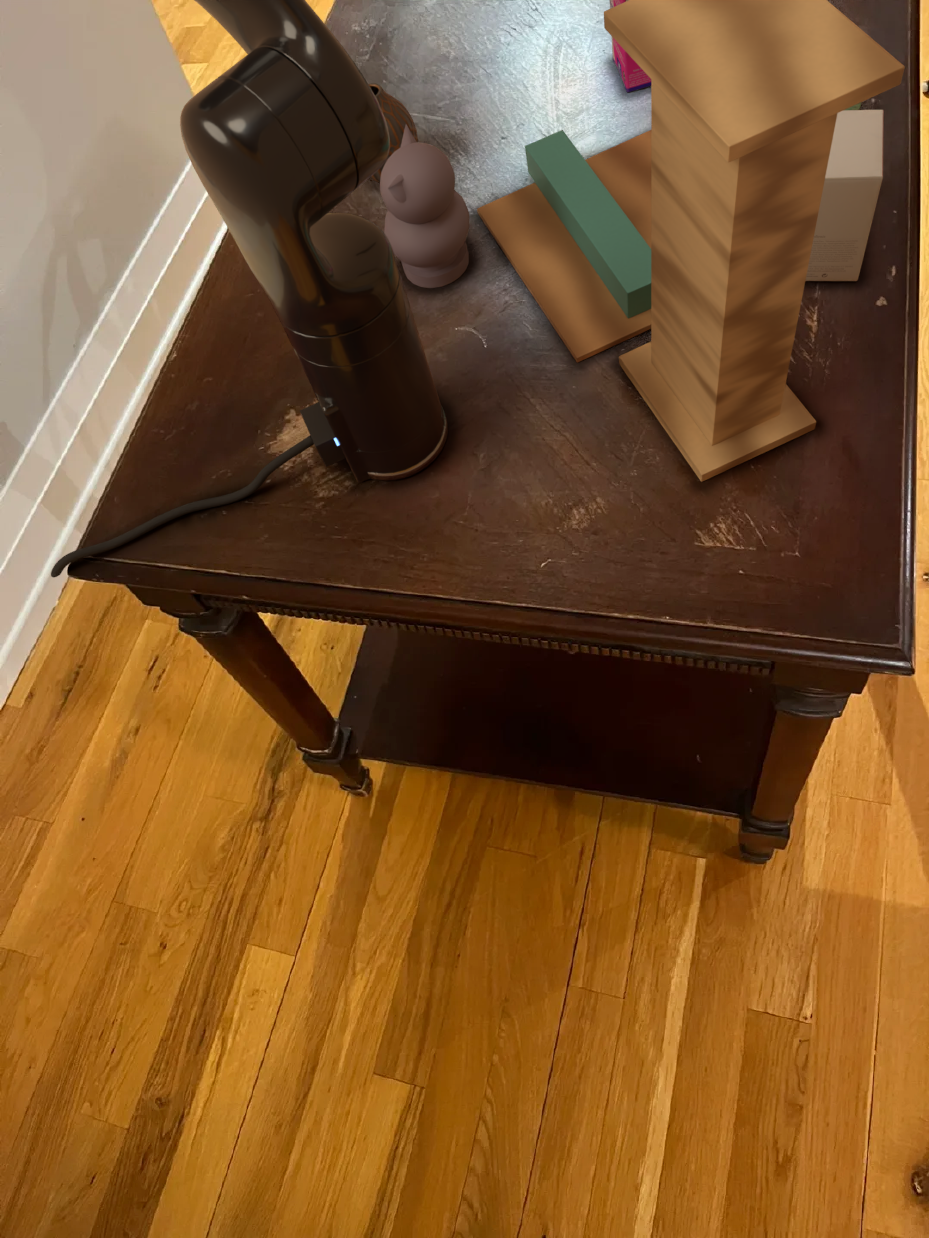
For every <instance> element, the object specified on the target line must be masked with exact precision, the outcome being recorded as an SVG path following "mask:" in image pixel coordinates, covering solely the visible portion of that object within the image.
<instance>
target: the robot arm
mask: <svg viewBox="0 0 929 1238" xmlns="http://www.w3.org/2000/svg"><path fill="white" fill-rule="evenodd" d="M193 1H194V2H196V4H198V5H199V6H200V7H201V8H202V9H204V11H206V12H207V13H208V14H209V15H210V16H211V18H213V19H214V20H215V21H216V22H217V23H218V24H219V25H220V26H221V27H222V28H223V29H224V30H225V31H226V32H227V34H229V35H230V36H231V37H232V38H233V39H234V41H236V43H237V44H238V45H239V46H240V47H241V48H242V50H243V51H244V52H245V53H246V55H245V56H244V57H243V58H241V59H239V60H238V61H237V62H236V63H235V64H234V65H232V66H231V67H229V68H228V69H227V70H225V71H224V72H223V73H222V74H220V75H219V76H218V77H216V78H215V79H214V80H213V81H211V82H210V83H208V84H207V85H206V86H205V87H203V88H202V89H201V90H199V91H198V92H197V93H196V94H195V95H194V96H192V97H191V98H190V99H189V100H188V101H187V102H186V103H185V104H184V106H183V108H182V110H181V111H180V116H179V120H180V121H179V128H180V135H181V139H182V142H183V145H184V149H185V151H186V154H187V157H188V159H189V161H190V163H191V165H192V167H193V169H194V171H195V173H196V175H197V177H198V179H199V180H200V182H201V184H202V186H203V188H204V189H205V191H206V193H207V194H208V196H209V198H210V200H211V202H212V203H213V205H214V207H215V208H216V211H218V213H219V215H220V216H221V217H220V218H221V219H222V220H223V222H224V223H225V225H226V227H227V230H228V231H229V233H230V235H231V236H232V238H233V240H234V242H235V244H236V246H237V248H238V249H239V251H240V254H241V255H242V257H243V260H244V261H245V263H246V265H247V266H248V268H249V270H250V271H251V274H252V275H253V277H254V279H255V281H256V282H257V283H258V284H259V286H260V288H261V289H262V291H263V293H264V295H265V296H266V298H267V299H268V301H269V303H270V304H271V306H272V308H273V310H274V312H275V314H276V316H277V318H278V320H279V322H280V324H281V326H282V328H283V330H284V333H285V334H286V336H287V338H288V340H289V342H290V345H291V346H292V349H293V351H294V353H295V355H296V357H297V359H298V361H299V364H300V365H301V368H302V370H303V372H304V375H306V378H307V380H308V382H309V384H310V387H311V388H312V391H313V393H314V395H315V397H316V399H317V402H315V403H313V404H311V405H309V406H306V407H304V408H302V409H300V410H299V413H300V416H301V417H302V419H303V421H304V424H305V427H306V429H307V431H308V433H309V435H308V436H307V437H305V438H304V439H302V440H301V441H299V442H297V443H296V444H294V445H292V446H291V447H289V448H288V449H287V450H285V451H284V452H281V454H279V455H277V456H276V457H275V458H274V459H272V460H271V461H270V462H269V463H268V464H266V465H265V466H263V468H262V469H261V470H260V471H259V472H258V473H257V475H256V476H255V478H254V479H252V481H251V482H250V483H249V484H248V485H246V486H245V487H242V488H241V489H238V490H237V491H236V490H235V491H234V492H231V493H228V494H224V495H219V496H214V497H209V498H205V499H201V500H195V501H192V502H189V503H185V504H183V505H180V506H177V507H175V508H173V509H170V510H167V511H165V512H163V513H161V514H159V515H157V516H155V517H153V518H151V519H149V520H148V521H146V522H144V523H142V524H139V525H138V526H136V527H134V528H132V529H131V530H128V531H126V532H124V533H122V534H120V535H118V536H116V537H114V538H112V539H109V540H106V541H102V542H100V543H97V544H94V545H89V546H85V547H82V548H79V549H76V550H73V551H71V552H69V553H66V554H64V555H63V556H62V557H61V558H59V559H58V560H57V561H56V562H55V563H54V565H53V566H52V569H51V572H50V577H52V578H58V577H59V576H61V574H62V573H63V572H64V569H65V568H66V567H67V566H68V565H70V564H72V563H73V562H74V563H75V562H76V561H78V560H80V559H84V558H87V557H91V556H94V555H98V554H99V555H100V554H101V553H106V552H108V551H111V550H114V549H116V548H118V547H119V548H120V547H121V546H123V545H125V544H127V543H130V542H131V541H133V540H135V539H137V538H139V537H141V536H143V535H145V534H146V533H148V532H151V531H152V530H154V529H156V528H158V527H161V526H162V525H164V524H166V523H168V522H170V521H172V520H175V519H177V518H179V517H182V516H184V515H187V514H188V515H189V514H192V513H194V512H198V511H201V510H206V509H211V508H215V507H216V508H217V507H221V506H225V505H229V504H232V503H236V502H238V501H240V500H243V499H246V498H248V497H249V496H251V495H252V494H254V493H255V492H257V491H258V489H259V488H261V487H262V485H263V484H264V482H265V481H266V480H267V479H268V478H269V476H270V475H271V474H272V473H273V472H275V471H276V470H277V469H279V468H280V467H281V466H283V465H284V464H286V463H287V462H289V461H290V460H292V459H294V458H295V457H297V456H298V455H299V454H301V453H303V452H304V451H306V450H307V449H309V448H310V447H312V446H313V445H314V447H315V449H316V451H317V453H318V454H319V456H320V458H321V460H322V462H323V464H324V466H325V467H326V468H328V467H330V466H332V465H334V464H336V463H339V462H341V461H343V460H346V462H347V464H348V466H349V468H350V470H351V472H352V474H353V475H354V476H353V477H354V478H355V481H356V482H357V483H363V482H365V481H367V480H370V479H372V480H375V481H396V480H401V479H406V478H408V477H411V476H414V475H416V474H417V473H420V472H421V471H423V470H424V469H426V468H428V466H429V465H431V464H432V463H433V462H434V461H435V460H436V459H437V458H438V456H439V455H440V453H441V452H442V450H443V448H444V446H445V445H446V442H447V438H448V433H449V432H448V431H449V427H448V426H449V425H448V419H447V417H446V412H445V410H444V408H443V405H442V403H441V400H440V397H439V395H438V391H437V388H436V385H435V382H434V378H433V376H432V372H431V369H430V366H429V362H428V359H427V356H426V352H425V350H424V349H425V348H424V347H423V346H424V345H423V343H422V339H421V337H420V333H419V329H418V326H417V324H416V320H415V317H414V314H413V310H412V308H411V304H410V301H409V298H408V295H407V292H406V288H405V285H404V281H403V278H402V275H401V272H400V268H399V265H398V263H397V258H396V255H395V254H394V252H393V249H392V247H391V244H390V242H389V240H388V238H387V236H386V235H385V233H384V231H383V230H382V229H381V227H380V226H379V225H377V224H376V223H374V222H373V221H371V220H369V219H367V218H366V217H364V216H362V215H358V214H354V213H349V212H331V211H332V210H333V209H334V208H335V207H337V206H338V205H339V204H341V202H343V201H344V200H346V198H348V197H349V196H350V195H351V194H352V193H353V192H355V191H356V190H357V189H358V188H360V187H361V186H362V185H363V184H364V183H366V181H368V180H369V179H370V177H371V176H372V175H373V174H374V173H375V172H377V171H378V170H379V168H380V167H381V166H382V165H383V164H384V163H385V161H386V159H387V157H388V154H389V147H390V137H389V131H388V126H387V123H386V120H385V117H384V115H383V112H382V110H381V107H380V105H379V103H378V101H377V98H376V97H375V95H374V93H373V91H372V89H371V88H370V86H369V84H370V83H369V82H368V81H367V79H366V77H364V74H363V72H361V69H360V68H359V67H358V65H357V63H355V61H354V60H353V57H351V56H350V54H349V53H348V51H347V50H346V48H344V46H343V45H342V44H341V43H340V41H339V40H338V39H337V37H336V36H335V35H334V34H333V33H332V31H331V30H330V29H329V28H328V26H327V25H326V24H325V22H324V21H323V19H322V18H321V17H320V16H319V15H318V14H317V13H316V11H315V10H314V9H313V8H312V7H311V6H310V4H309V2H307V1H306V0H193Z"/></svg>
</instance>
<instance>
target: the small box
mask: <svg viewBox="0 0 929 1238" xmlns="http://www.w3.org/2000/svg"><path fill="white" fill-rule="evenodd" d="M884 112H885V110H884V109H860V110H844V111H841V112H839V113H837V119H836V124H835V129H834V134H833V140H832V145H831V150H830V155H829V160H828V166H827V171H826V176H825V181H824V186H823V192H822V197H821V202H820V207H819V212H818V218H817V223H816V228H815V233H814V239H813V244H812V249H811V254H810V259H809V265H808V270H807V275H806V280H805V282H857V281H859V276H860V272H861V269H862V265H863V261H864V256H865V252H866V249H867V245H868V240H869V236H870V232H871V228H872V223H873V220H874V215H875V213H876V207H877V203H878V199H879V195H880V191H881V190H880V189H881V188H882V187H881V186H882V183H883V179H884V127H885V126H884V124H885V123H884V122H885V121H884V114H885V113H884Z"/></svg>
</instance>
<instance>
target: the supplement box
mask: <svg viewBox="0 0 929 1238" xmlns="http://www.w3.org/2000/svg"><path fill="white" fill-rule="evenodd" d="M608 1H609V9H611V8H613V7H615V6H617V5H620V4H622V3H624V2H626V1H629V0H608ZM610 36H611V35H610ZM611 52H612V53H611V54H612V62H613V63H614V65H615V68H616V69H617V71H618V74H619V76H620V78H621V81H622V83H623V86H624V89H625V92H626V93H631V92H632V93H633V92H635V91H639V90H641V89H642V90H643V89H645V88H648V87H651V78H650V77H649V76H648V75H647V74H646V73H645V72H644V71H643V70H642V69H641V67H640V66H639V65H638V64H637V63H636V62H635V61H634V60H633V59H632V58H631V57H630V55H629V54H628V53H627V52H626V51H625V50H624V49H623V48H622V47H621V46H620V45H619V44H618V42H617V41H616V40H615V39H614V38H613V37H612V36H611Z"/></svg>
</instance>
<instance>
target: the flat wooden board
mask: <svg viewBox="0 0 929 1238" xmlns="http://www.w3.org/2000/svg"><path fill="white" fill-rule="evenodd" d="M584 159H585V161H586V162H587V163H588V165H589V166H590V167H591V169H592V170H593V171H594V173H595V174H596V175H597V177H598V178H599V179H600V181H601V182H602V183H603V185H604V186H605V187H606V189H607V190H608V192H609V193H610V194H611V196H612V197H613V198H614V200H615V201H616V202H617V204H618V205H619V206H620V208H621V209H622V210H623V212H624V213H625V214H626V216H627V217H628V218H629V220H630V221H631V223H632V224H633V225H634V227H635V228H636V229H637V231H638V232H639V233H640V235H641V236H642V237H643V239H644V240H645V241H646V243H647V244H648V245H649V247H650V248H651V129H650V130H647V131H644V132H643V133H641V134H638V135H636V136H634V137H632V138H630V139H627V140H625V141H623V142H621V143H619V144H617V145H614V146H612V147H609V148H607V149H605V150H603V151H601V152H598V153H597V154H594V155H592V156H590V157H588V158H584ZM476 211H477V214H478V216H479V217H480V219H481V220H482V222H483V224H484V225H485V226H486V228H487V230H488V231H489V233H490V234H491V236H493V238H494V241H496V243H497V244H498V246H499V248H500V249H501V250H502V252H503V254H504V255H505V256H506V258H507V260H508V261H509V262H510V264H511V266H512V267H513V269H514V270H515V272H516V273H517V275H518V276H519V278H520V279H521V281H522V282H523V283H524V285H525V287H526V288H527V289H528V291H529V292H530V294H531V296H532V297H533V298H534V300H535V301H536V303H537V304H538V306H539V308H540V309H541V311H542V312H543V314H544V316H545V317H546V318H547V320H548V321H549V323H550V324H551V326H552V327H553V329H554V330H555V332H556V333H557V335H558V336H559V338H560V339H561V341H562V342H563V344H564V345H565V347H566V348H567V350H568V351H569V353H570V354H571V356H572V357H573V359H574V360H575V362H576V363H580V362H582V361H583V360H586V359H588V358H590V357H593V356H595V355H597V354H599V353H602V352H604V351H605V350H607V349H610V348H612V347H615V346H617V345H619V344H621V343H624V342H625V341H627V340H630V339H632V338H634V337H636V336H639V335H641V334H643V333H645V332H647V331H649V330H651V309H649V310H647V311H645V312H642V313H640V314H638V315H635V316H633V317H631V318H627V316H626V315H625V313H624V312H623V310H622V309H621V307H620V306H619V304H618V303H617V302H616V300H615V299H614V297H613V296H612V294H611V293H610V291H609V290H608V288H607V287H606V285H605V284H604V283H603V281H602V280H601V278H600V277H599V275H598V274H597V272H596V271H595V269H594V268H593V266H592V265H591V264H590V262H589V261H588V259H587V258H586V256H585V255H584V253H583V252H582V250H581V249H580V248H579V246H578V245H577V243H576V242H575V240H574V239H573V237H572V236H571V234H570V233H569V231H568V230H567V229H566V227H565V226H564V224H563V223H562V221H561V220H560V218H559V217H558V215H557V214H556V212H555V211H554V210H553V208H552V207H551V205H550V204H549V202H548V201H547V199H546V198H545V196H544V195H543V193H542V192H541V191H540V189H539V188H538V186H537V185H536V183H535V182H533V183H530V184H528V185H526V186H523V187H522V188H521V187H520V188H519V189H517V190H514V191H512V192H510V193H508V194H506V195H504V196H502V197H500V198H497V199H495V200H493V201H491V202H488V203H486V204H484V205H481V206H480V207H477V208H476Z"/></svg>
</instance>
